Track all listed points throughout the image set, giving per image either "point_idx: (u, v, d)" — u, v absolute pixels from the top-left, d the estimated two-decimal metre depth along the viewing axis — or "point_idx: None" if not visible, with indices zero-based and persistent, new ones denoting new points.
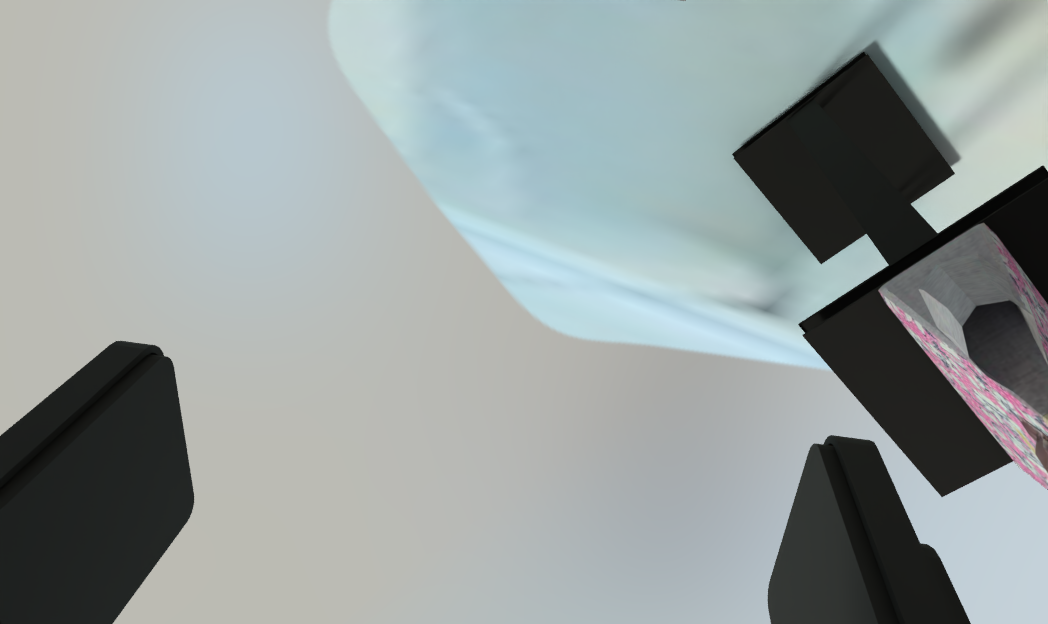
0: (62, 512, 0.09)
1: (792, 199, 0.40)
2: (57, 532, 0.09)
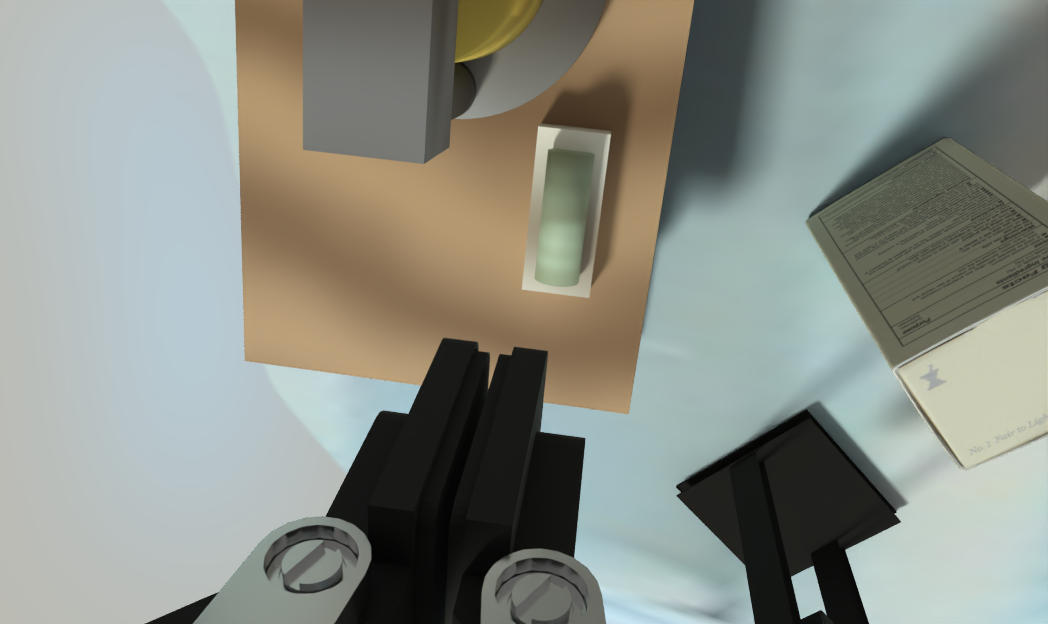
0: (453, 495, 0.10)
1: (737, 533, 0.39)
2: (451, 513, 0.10)
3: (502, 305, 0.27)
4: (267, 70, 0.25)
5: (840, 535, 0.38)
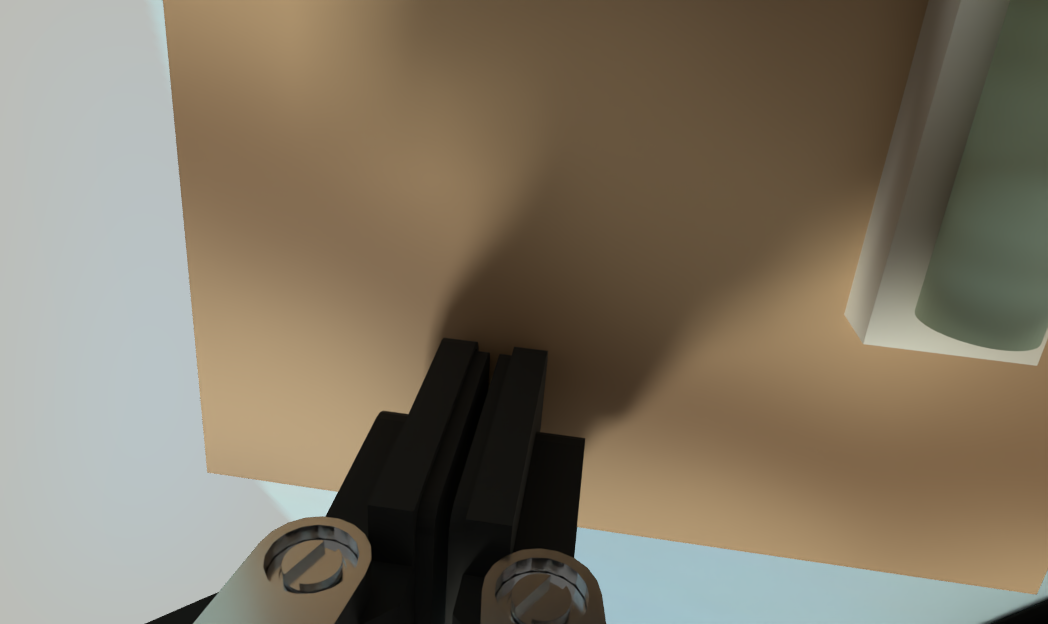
0: (454, 495, 0.10)
1: None
2: (451, 513, 0.10)
3: (780, 369, 0.12)
4: None
5: None
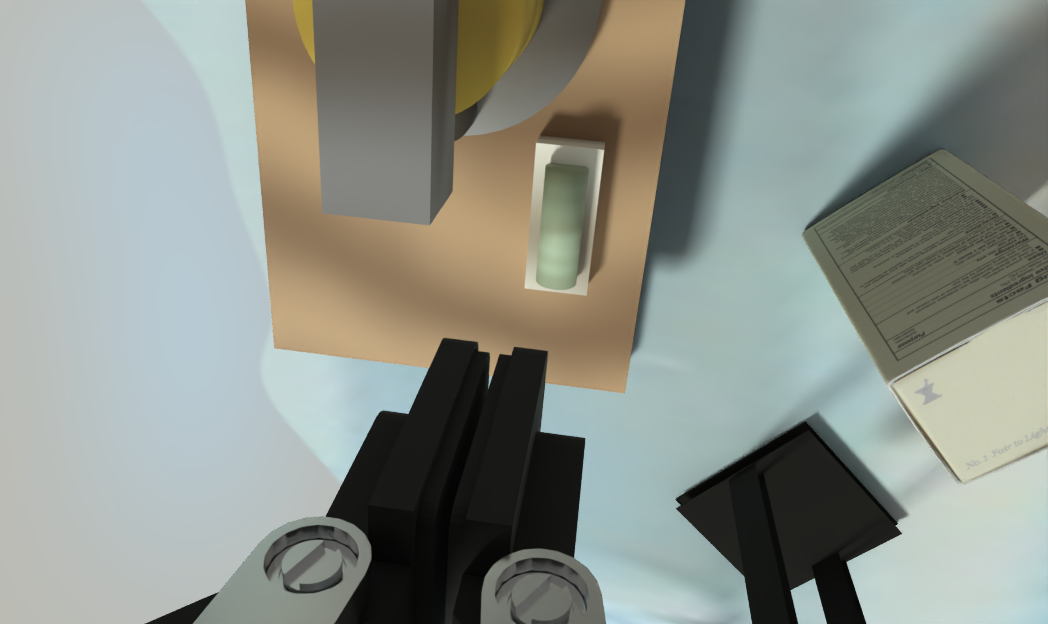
0: (454, 495, 0.10)
1: (737, 546, 0.39)
2: (451, 513, 0.10)
3: (507, 299, 0.29)
4: (281, 88, 0.27)
5: (841, 547, 0.38)
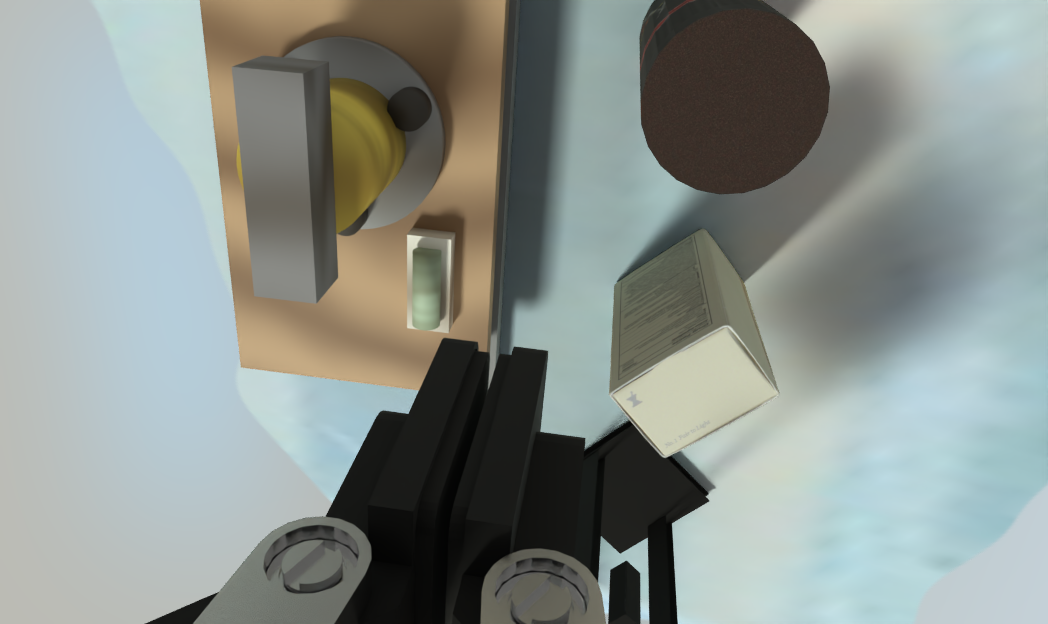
0: (453, 495, 0.10)
1: None
2: (451, 513, 0.10)
3: (399, 334, 0.42)
4: (240, 196, 0.40)
5: (667, 512, 0.51)
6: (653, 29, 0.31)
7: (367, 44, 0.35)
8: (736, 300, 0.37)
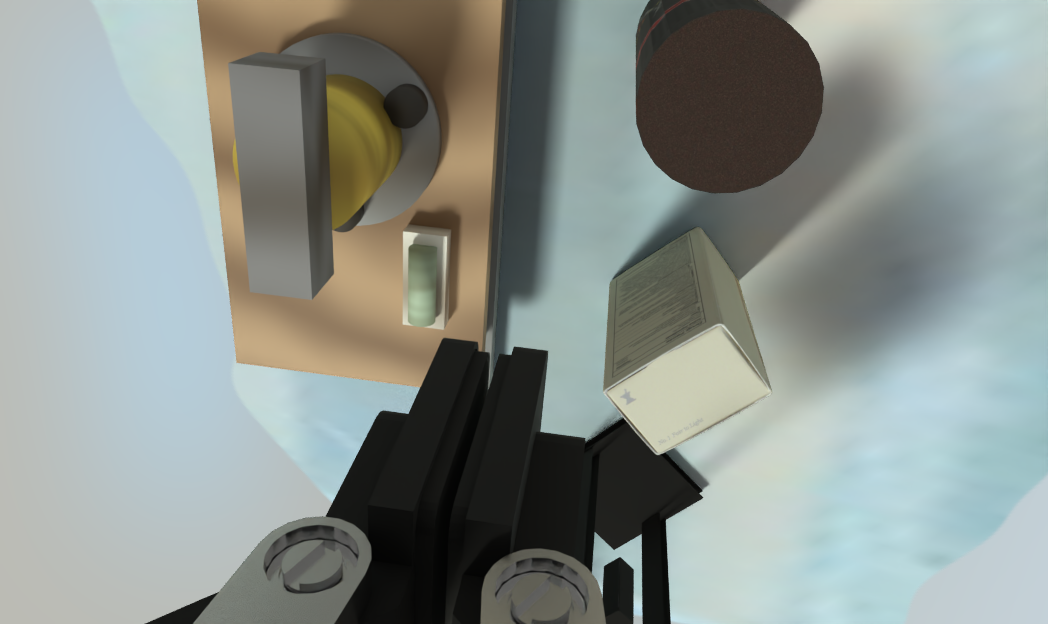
0: (454, 495, 0.10)
1: None
2: None
3: (395, 330, 0.42)
4: (237, 191, 0.40)
5: (661, 508, 0.51)
6: (649, 28, 0.31)
7: (364, 41, 0.35)
8: (730, 298, 0.38)
